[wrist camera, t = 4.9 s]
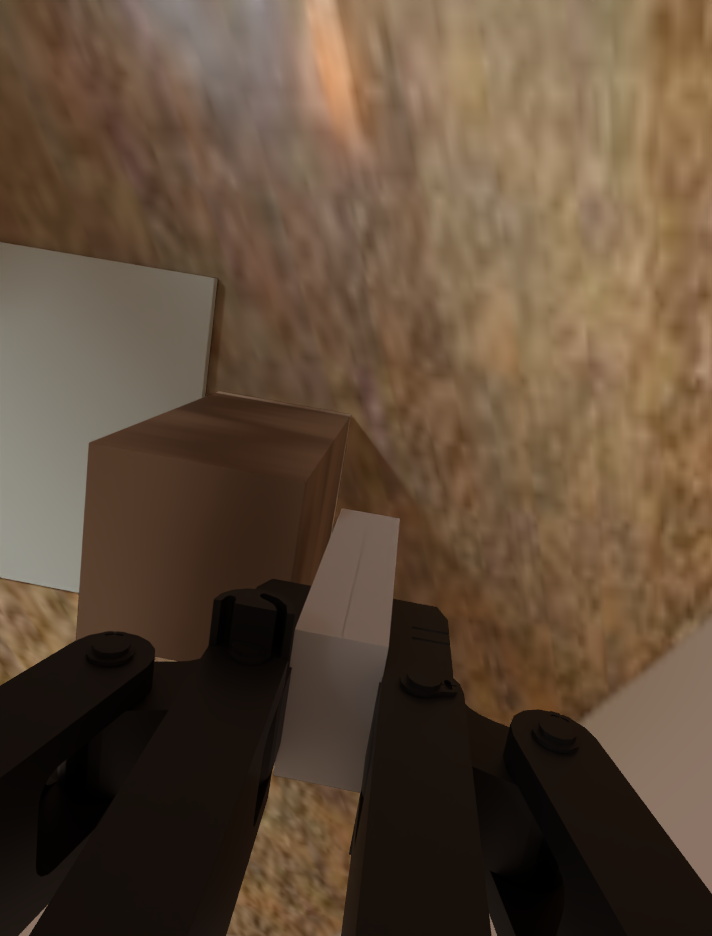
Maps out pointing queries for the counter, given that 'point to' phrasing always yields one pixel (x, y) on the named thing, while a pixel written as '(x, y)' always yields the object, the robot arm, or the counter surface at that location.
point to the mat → (83, 386)
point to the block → (204, 514)
